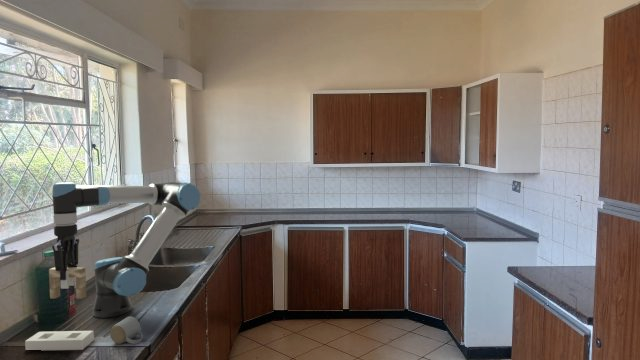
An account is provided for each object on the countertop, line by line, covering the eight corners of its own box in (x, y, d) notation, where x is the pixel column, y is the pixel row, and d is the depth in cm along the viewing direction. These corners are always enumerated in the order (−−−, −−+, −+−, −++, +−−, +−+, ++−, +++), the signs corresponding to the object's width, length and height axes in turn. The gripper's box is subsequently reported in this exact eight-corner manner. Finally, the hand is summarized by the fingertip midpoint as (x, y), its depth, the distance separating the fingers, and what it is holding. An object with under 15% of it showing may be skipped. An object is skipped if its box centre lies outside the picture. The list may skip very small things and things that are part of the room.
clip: (86, 296, 171) (85, 267, 170) (81, 298, 168) (80, 269, 167) (55, 295, 171) (53, 267, 170) (50, 298, 168) (48, 269, 167)
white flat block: (94, 339, 167) (93, 330, 166) (82, 349, 159) (81, 340, 158) (39, 340, 167) (39, 331, 166) (25, 350, 159) (25, 341, 158)
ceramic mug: (108, 343, 163) (107, 323, 162) (124, 334, 171) (124, 314, 170) (132, 347, 160) (132, 326, 159) (148, 338, 167) (147, 318, 167)
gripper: (68, 221, 176) (70, 280, 177) (41, 227, 160) (44, 293, 161) (87, 221, 176) (89, 280, 177) (62, 227, 159) (64, 293, 161)
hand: (67, 286), depth 169 cm, fingers closed on clip, 3 cm apart
